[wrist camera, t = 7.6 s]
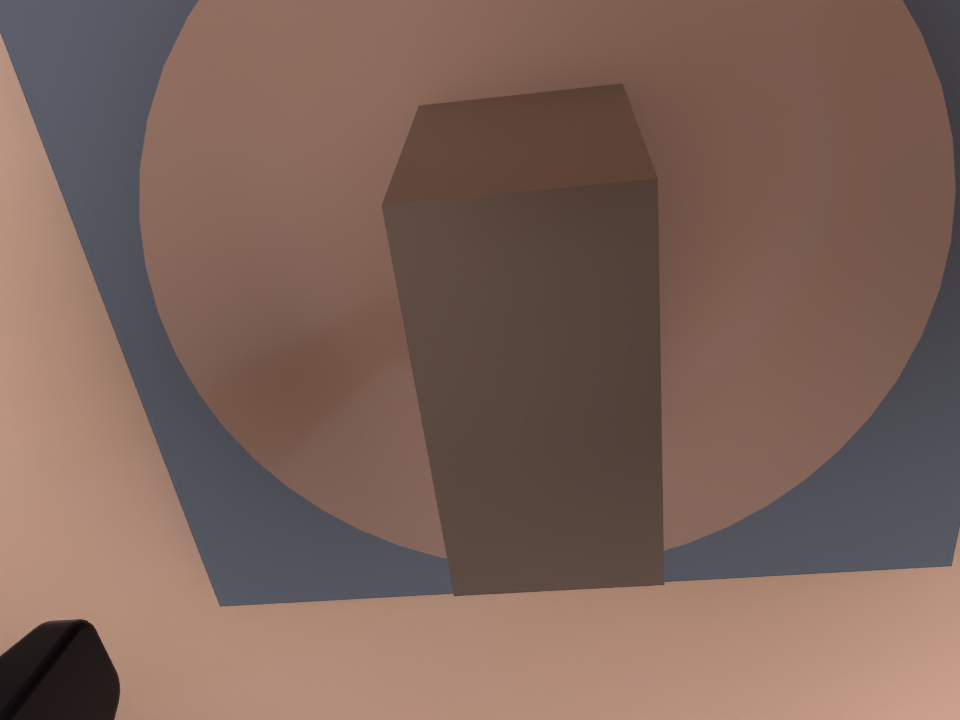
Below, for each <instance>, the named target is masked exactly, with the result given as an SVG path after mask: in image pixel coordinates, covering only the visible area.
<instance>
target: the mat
mask: <svg viewBox="0 0 960 720" xmlns="http://www.w3.org/2000/svg"><path fill="white" fill-rule="evenodd" d="M198 1H199V0H0V33H1V36H2V38H3V41H4V43H5V46H6V49H7V51H8V54H9V57H10V59H11V62H12V64H13V67H14V70H15V72H16V75H17V77H18V80H19V83H20V85H21V88H22V90H23V93H24V96H25V98H26V101H27V104H28V106H29V109H30V111H31V114H32V117H33V119H34V122H35V124H36V127H37V130H38V132H39V135H40V138H41V140H42V143H43V145H44V148H45V151H46V153H47V156H48V158H49V161H50V164H51V166H52V169H53V171H54V174H55V177H56V179H57V182H58V185H59V187H60V190H61V192H62V195H63V198H64V200H65V203H66V205H67V208H68V211H69V213H70V216H71V219H72V221H73V224H74V226H75V229H76V232H77V234H78V237H79V239H80V242H81V245H82V247H83V250H84V253H85V255H86V258H87V260H88V263H89V266H90V268H91V271H92V273H93V276H94V279H95V281H96V284H97V286H98V289H99V292H100V294H101V297H102V300H103V302H104V305H105V307H106V310H107V313H108V315H109V318H110V320H111V323H112V326H113V328H114V331H115V334H116V336H117V339H118V341H119V344H120V347H121V349H122V352H123V354H124V357H125V360H126V362H127V365H128V367H129V370H130V373H131V375H132V378H133V381H134V383H135V386H136V388H137V391H138V394H139V396H140V399H141V401H142V404H143V407H144V409H145V412H146V415H147V417H148V420H149V422H150V425H151V428H152V430H153V433H154V435H155V438H156V441H157V443H158V446H159V449H160V451H161V454H162V456H163V459H164V462H165V464H166V467H167V469H168V472H169V475H170V477H171V480H172V482H173V485H174V488H175V490H176V493H177V496H178V498H179V501H180V503H181V506H182V509H183V511H184V514H185V516H186V519H187V522H188V524H189V527H190V530H191V532H192V535H193V537H194V540H195V543H196V545H197V548H198V550H199V553H200V556H201V558H202V561H203V564H204V566H205V569H206V571H207V574H208V577H209V579H210V582H211V584H212V587H213V590H214V592H215V595H216V597H217V600H218V603H219V605H220V606H237V605H255V604H273V603H292V602H310V601H328V600H346V599H364V598H382V597H400V596H418V595H436V594H454V593H453V588H452V582H451V577H450V571H449V566H448V561H447V559H446V558H441V557H437V556H433V555H430V554H427V553H423V552H420V551H416V550H413V549H409V548H406V547H402V546H399V545H396V544H394V543H391V542H389V541H387V540H384V539H382V538H379V537H377V536H374V535H372V534H369V533H367V532H364V531H362V530H359V529H357V528H355V527H354V526H352V525H350V524H348V523H346V522H344V521H342V520H340V519H338V518H336V517H335V516H333V515H331V514H329V513H327V512H325V511H323V510H321V509H320V508H318V507H317V506H315V505H314V504H312V503H311V502H309V501H308V500H307V499H305V498H304V497H302V496H301V495H299V494H298V493H296V492H295V491H293V490H292V489H290V488H289V487H287V486H286V485H285V484H283V483H282V482H281V481H280V480H279V479H277V478H276V477H275V476H274V475H273V474H272V473H270V472H269V471H268V470H267V469H266V468H264V467H263V466H262V465H261V464H260V463H258V462H257V461H256V460H255V459H254V458H253V457H252V456H251V455H250V454H249V453H248V452H247V451H246V450H245V449H244V448H243V447H242V446H241V445H240V444H239V443H238V441H237V440H236V439H235V438H234V437H233V436H232V435H231V434H230V433H229V432H228V431H227V430H226V429H225V428H224V427H223V425H222V424H221V423H220V421H219V420H218V419H217V417H216V416H215V415H214V413H213V412H212V411H211V409H210V408H209V407H208V405H207V404H206V403H205V401H204V400H203V399H202V397H201V396H200V395H199V393H198V392H197V390H196V388H195V387H194V385H193V383H192V381H191V380H190V378H189V376H188V374H187V373H186V371H185V369H184V368H183V366H182V364H181V362H180V361H179V359H178V357H177V355H176V354H175V351H174V349H173V347H172V344H171V342H170V339H169V337H168V335H167V332H166V330H165V327H164V325H163V323H162V320H161V318H160V316H159V313H158V310H157V307H156V303H155V299H154V296H153V292H152V288H151V285H150V281H149V277H148V274H147V270H146V266H145V258H144V251H143V243H142V236H141V228H140V220H139V198H140V164H141V158H142V152H143V145H144V139H145V132H146V126H147V119H148V115H149V112H150V109H151V106H152V103H153V99H154V96H155V93H156V90H157V86H158V83H159V80H160V77H161V74H162V70H163V67H164V65H165V63H166V61H167V59H168V57H169V55H170V53H171V50H172V48H173V46H174V44H175V42H176V40H177V38H178V36H179V34H180V32H181V30H182V28H183V26H184V24H185V21H186V19H187V17H188V16H189V14H190V13H191V11H192V10H193V8H194V7H195V5H196V4H197V3H198ZM903 2H904V4H905V6H906V7H907V9H908V11H909V12H910V14H911V16H912V18H913V19H914V21H915V23H916V25H917V26H918V28H919V30H920V31H921V33H922V36H923V38H924V41H925V44H926V46H927V49H928V52H929V54H930V57H931V59H932V62H933V65H934V67H935V70H936V72H937V75H938V78H939V80H940V83H941V85H942V90H943V95H944V100H945V104H946V109H947V114H948V119H949V123H950V128H951V133H952V137H953V152H954V170H955V188H956V193H955V203H954V214H953V225H952V236H951V244H950V248H949V252H948V256H947V260H946V265H945V269H944V273H943V277H942V281H941V285H940V290H939V293H938V295H937V298H936V300H935V303H934V305H933V308H932V311H931V313H930V316H929V318H928V321H927V323H926V326H925V329H924V331H923V334H922V336H921V338H920V340H919V342H918V343H917V345H916V347H915V349H914V351H913V353H912V354H911V356H910V358H909V360H908V362H907V363H906V365H905V367H904V369H903V371H902V373H901V374H900V376H899V378H898V379H897V381H896V382H895V384H894V385H893V386H892V388H891V389H890V390H889V392H888V393H887V395H886V396H885V397H884V399H883V400H882V402H881V403H880V404H879V406H878V407H877V408H876V410H875V411H874V413H873V414H872V415H871V417H870V418H869V419H868V420H867V421H866V422H865V423H864V424H863V425H862V426H861V427H860V429H859V430H858V431H857V432H856V433H855V434H854V435H853V436H852V437H851V438H850V439H849V440H848V442H847V443H846V444H845V445H844V446H843V447H842V448H841V449H840V450H839V451H838V452H837V453H836V454H834V455H833V456H832V457H831V458H830V459H829V460H827V461H826V462H825V463H824V464H823V465H822V466H821V467H819V468H818V469H817V470H816V471H815V472H814V473H812V474H811V475H810V476H809V477H808V478H807V479H805V480H804V481H803V482H801V483H800V484H798V485H797V486H795V487H794V488H792V489H791V490H790V491H788V492H787V493H785V494H784V495H782V496H781V497H779V498H778V499H776V500H775V501H774V502H772V503H771V504H769V505H768V506H766V507H764V508H762V509H760V510H758V511H757V512H755V513H753V514H751V515H749V516H747V517H745V518H744V519H742V520H740V521H738V522H736V523H734V524H733V525H731V526H729V527H726V528H724V529H721V530H719V531H717V532H714V533H712V534H710V535H707V536H705V537H702V538H700V539H698V540H695V541H693V542H690V543H687V544H684V545H681V546H678V547H674V548H671V549H668V550H665V551H664V582H672V581H690V580H708V579H726V578H744V577H762V576H780V575H799V574H817V573H835V572H853V571H871V570H889V569H907V568H925V567H943V566H952V561H953V556H954V551H955V546H956V541H957V537H958V532H959V527H960V0H903Z"/></svg>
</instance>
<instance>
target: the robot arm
mask: <svg viewBox="0 0 960 720" xmlns="http://www.w3.org/2000/svg"><path fill="white" fill-rule="evenodd" d="M119 696H120V683H119V678H118V674H117V672H116V670H115V668H114V666H113V664H112V662H111V660H110V658H109V656H108V653H107V651H106V649H105V647H104V645H103V643H102V641H101V639H100V637H99V635H98V633H97V631H96V629H95V628H94V626H93V625H92V624H91V623H89V622H88V621H86V620H82V619H77V620H58V621H48V622H45V623H43V624H41V625H39V626H38V627H36V628H35V629H33V630H32V631H31V632H30V633H28V634H27V635H26V636H25V637H23V638H22V639H21V640H20V641H18V642H17V643H16V644H15V645H14V646H12V647H11V648H10V649H9V650H7V651H6V652H5V653H4V654H2V655H1V656H0V720H114V719H115V715H116V711H117V707H118V703H119Z"/></svg>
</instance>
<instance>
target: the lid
mask: <svg viewBox="0 0 960 720" xmlns="http://www.w3.org/2000/svg"><path fill="white" fill-rule="evenodd" d="M955 193H956V188H955V170H954V152H953V137H952V133H951V128H950V123H949V119H948V114H947V109H946V104H945V100H944V95H943V90H942V85H941V83H940V80H939V78H938V75H937V72H936V70H935V67H934V65H933V62H932V59H931V57H930V54H929V52H928V49H927V46H926V44H925V41H924V38H923V36H922V33H921V31H920V30H919V28H918V26H917V25H916V23H915V21H914V19H913V18H912V16H911V14H910V12H909V11H908V9H907V7H906V6H905V4H904V2H903V0H199V1H198V3H197V4H196V5H195V7H194V8H193V10H192V11H191V13H190V14H189V16H188V17H187V19H186V21H185V24H184V26H183V28H182V30H181V32H180V34H179V36H178V38H177V40H176V42H175V44H174V46H173V48H172V50H171V53H170V55H169V57H168V59H167V61H166V63H165V65H164V67H163V70H162V74H161V77H160V80H159V83H158V86H157V90H156V93H155V96H154V99H153V103H152V106H151V109H150V112H149V115H148V119H147V126H146V132H145V139H144V145H143V152H142V158H141V164H140V198H139V220H140V228H141V236H142V243H143V251H144V258H145V266H146V270H147V274H148V277H149V281H150V285H151V288H152V292H153V296H154V299H155V303H156V307H157V310H158V313H159V316H160V318H161V320H162V323H163V325H164V327H165V330H166V332H167V335H168V337H169V339H170V342H171V344H172V347H173V349H174V351H175V354H176V355H177V357H178V359H179V361H180V362H181V364H182V366H183V368H184V369H185V371H186V373H187V374H188V376H189V378H190V380H191V381H192V383H193V385H194V387H195V388H196V390H197V392H198V393H199V395H200V396H201V397H202V399H203V400H204V401H205V403H206V404H207V405H208V407H209V408H210V409H211V411H212V412H213V413H214V415H215V416H216V417H217V419H218V420H219V421H220V423H221V424H222V425H223V427H224V428H225V429H226V430H227V431H228V432H229V433H230V434H231V435H232V436H233V437H234V438H235V439H236V440H237V441H238V443H239V444H240V445H241V446H242V447H243V448H244V449H245V450H246V451H247V452H248V453H249V454H250V455H251V456H252V457H253V458H254V459H255V460H256V461H257V462H258V463H260V464H261V465H262V466H263V467H264V468H266V469H267V470H268V471H269V472H270V473H272V474H273V475H274V476H275V477H276V478H277V479H279V480H280V481H281V482H282V483H283V484H285V485H286V486H287V487H289V488H290V489H292V490H293V491H295V492H296V493H298V494H299V495H301V496H302V497H304V498H305V499H307V500H308V501H309V502H311V503H312V504H314V505H315V506H317V507H318V508H320V509H321V510H323V511H325V512H327V513H329V514H331V515H333V516H335V517H336V518H338V519H340V520H342V521H344V522H346V523H348V524H350V525H352V526H354V527H355V528H357V529H359V530H362V531H364V532H367V533H369V534H372V535H374V536H377V537H379V538H382V539H384V540H387V541H389V542H391V543H394V544H396V545H399V546H402V547H406V548H409V549H413V550H416V551H420V552H423V553H427V554H430V555H433V556H437V557H441V558H446V559H447V561H448V566H449V571H450V577H451V582H452V588H453V593H454V596H463V595H482V594H501V593H519V592H538V591H557V590H576V589H595V588H614V587H633V586H652V585H664V551H665V550H668V549H671V548H674V547H678V546H681V545H684V544H687V543H690V542H693V541H695V540H698V539H700V538H702V537H705V536H707V535H710V534H712V533H714V532H717V531H719V530H721V529H724V528H726V527H729V526H731V525H733V524H734V523H736V522H738V521H740V520H742V519H744V518H745V517H747V516H749V515H751V514H753V513H755V512H757V511H758V510H760V509H762V508H764V507H766V506H768V505H769V504H771V503H772V502H774V501H775V500H776V499H778V498H779V497H781V496H782V495H784V494H785V493H787V492H788V491H790V490H791V489H792V488H794V487H795V486H797V485H798V484H800V483H801V482H803V481H804V480H805V479H807V478H808V477H809V476H810V475H811V474H812V473H814V472H815V471H816V470H817V469H818V468H819V467H821V466H822V465H823V464H824V463H825V462H826V461H827V460H829V459H830V458H831V457H832V456H833V455H834V454H836V453H837V452H838V451H839V450H840V449H841V448H842V447H843V446H844V445H845V444H846V443H847V442H848V440H849V439H850V438H851V437H852V436H853V435H854V434H855V433H856V432H857V431H858V430H859V429H860V427H861V426H862V425H863V424H864V423H865V422H866V421H867V420H868V419H869V418H870V417H871V415H872V414H873V413H874V411H875V410H876V408H877V407H878V406H879V404H880V403H881V402H882V400H883V399H884V397H885V396H886V395H887V393H888V392H889V390H890V389H891V388H892V386H893V385H894V384H895V382H896V381H897V379H898V378H899V376H900V374H901V373H902V371H903V369H904V367H905V365H906V363H907V362H908V360H909V358H910V356H911V354H912V353H913V351H914V349H915V347H916V345H917V343H918V342H919V340H920V338H921V336H922V334H923V331H924V329H925V326H926V323H927V321H928V318H929V316H930V313H931V311H932V308H933V305H934V303H935V300H936V298H937V295H938V293H939V290H940V285H941V281H942V277H943V273H944V269H945V265H946V260H947V256H948V252H949V248H950V244H951V236H952V225H953V214H954V203H955Z"/></svg>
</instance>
